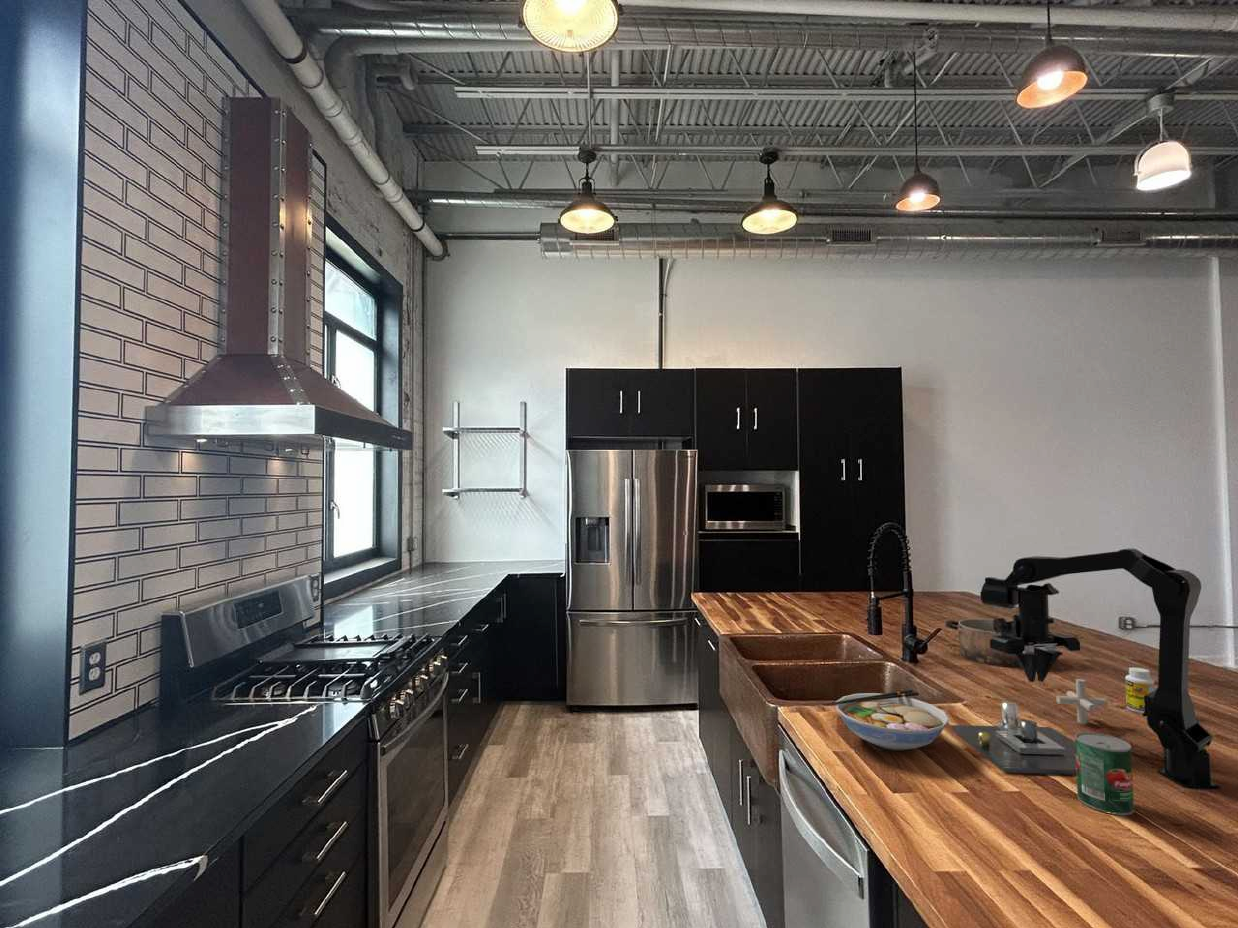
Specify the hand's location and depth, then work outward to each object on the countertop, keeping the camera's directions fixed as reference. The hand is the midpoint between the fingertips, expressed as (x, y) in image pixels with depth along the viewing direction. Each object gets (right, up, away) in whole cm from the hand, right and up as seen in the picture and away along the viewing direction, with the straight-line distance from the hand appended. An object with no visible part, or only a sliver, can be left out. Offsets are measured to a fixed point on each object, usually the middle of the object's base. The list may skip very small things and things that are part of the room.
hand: (1035, 681), depth 138 cm
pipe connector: (+16, -13, +7) cm, 21 cm away
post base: (-7, -12, -9) cm, 16 cm away
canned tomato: (-9, -11, -31) cm, 34 cm away
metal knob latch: (-7, -11, -6) cm, 14 cm away
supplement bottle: (+36, -13, +14) cm, 41 cm away
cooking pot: (+31, -15, +63) cm, 71 cm away
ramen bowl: (-35, -12, -5) cm, 38 cm away
